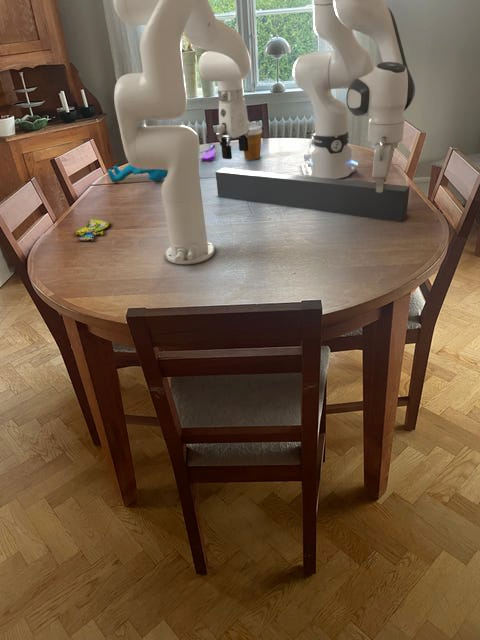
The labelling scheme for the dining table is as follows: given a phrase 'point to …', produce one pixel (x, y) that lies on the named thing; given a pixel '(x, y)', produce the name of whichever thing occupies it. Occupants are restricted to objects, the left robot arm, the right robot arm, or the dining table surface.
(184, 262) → the left robot arm
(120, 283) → the dining table surface
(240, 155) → the dining table surface
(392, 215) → the beam
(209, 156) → the musical instrument
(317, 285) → the dining table surface
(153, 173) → the toy
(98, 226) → the toy
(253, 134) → the beer cup
